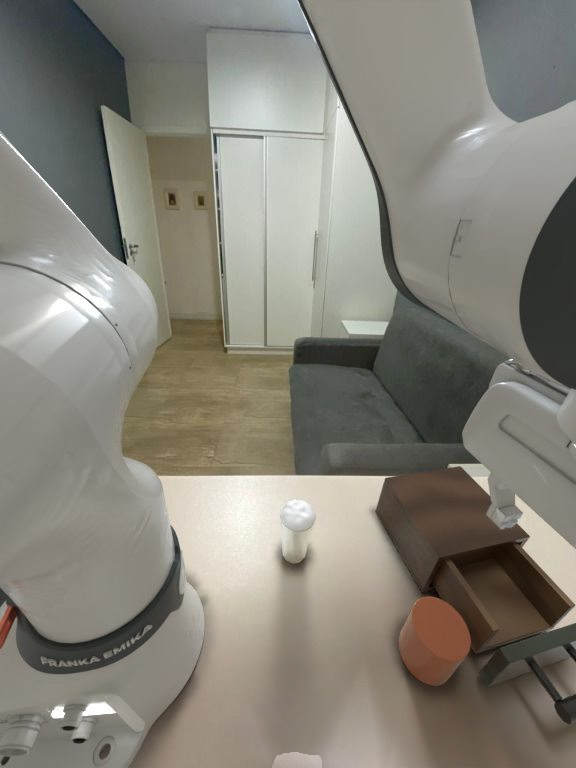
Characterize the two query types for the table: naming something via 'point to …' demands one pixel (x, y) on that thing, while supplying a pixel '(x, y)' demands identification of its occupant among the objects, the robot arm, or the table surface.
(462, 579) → the drawer
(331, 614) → the table surface
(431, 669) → the orange cylinder puck
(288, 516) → the milkshake
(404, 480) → the cabinet
